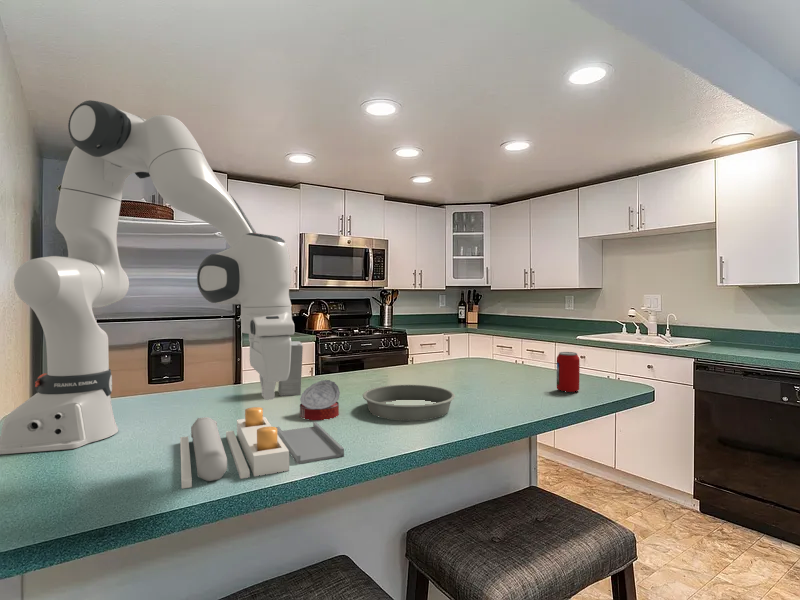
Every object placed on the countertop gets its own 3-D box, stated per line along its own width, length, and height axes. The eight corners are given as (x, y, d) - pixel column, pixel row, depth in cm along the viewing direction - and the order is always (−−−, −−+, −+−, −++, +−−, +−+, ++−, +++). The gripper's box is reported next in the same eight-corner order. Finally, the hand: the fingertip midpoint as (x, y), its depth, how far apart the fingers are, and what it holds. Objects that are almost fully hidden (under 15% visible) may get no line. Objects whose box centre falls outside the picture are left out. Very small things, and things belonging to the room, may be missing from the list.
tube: (234, 457, 79) (221, 419, 101) (202, 452, 76) (195, 414, 99) (224, 489, 78) (212, 443, 100) (191, 484, 76) (186, 439, 98)
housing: (181, 488, 75) (181, 467, 75) (180, 442, 97) (180, 426, 97) (289, 470, 82) (289, 450, 82) (265, 431, 105) (264, 416, 105)
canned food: (339, 432, 120) (353, 401, 117) (306, 436, 113) (320, 403, 110) (320, 404, 128) (332, 374, 125) (287, 406, 121) (300, 375, 118)
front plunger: (258, 453, 83) (258, 433, 83) (255, 447, 86) (255, 428, 86) (279, 450, 84) (279, 430, 84) (275, 444, 88) (275, 425, 87)
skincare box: (278, 390, 148) (277, 341, 147) (301, 389, 150) (300, 340, 150) (279, 396, 140) (279, 344, 139) (303, 395, 142) (303, 343, 141)
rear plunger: (246, 428, 97) (246, 412, 97) (244, 424, 100) (244, 408, 100) (264, 426, 99) (264, 410, 99) (261, 422, 102) (261, 406, 102)
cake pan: (347, 418, 116) (347, 400, 116) (380, 397, 140) (380, 382, 140) (444, 427, 109) (444, 408, 109) (462, 402, 133) (462, 387, 133)
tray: (297, 464, 86) (297, 455, 86) (276, 433, 104) (276, 427, 104) (344, 456, 89) (343, 448, 89) (315, 428, 107) (315, 422, 107)
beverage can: (564, 387, 151) (564, 351, 151) (583, 391, 146) (583, 353, 146) (552, 390, 147) (552, 352, 147) (572, 394, 142) (572, 355, 141)
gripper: (241, 320, 93) (242, 389, 93) (257, 326, 74) (259, 413, 75) (273, 318, 95) (274, 386, 96) (297, 325, 77) (298, 408, 77)
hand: (268, 398), depth 85 cm, fingers closed
